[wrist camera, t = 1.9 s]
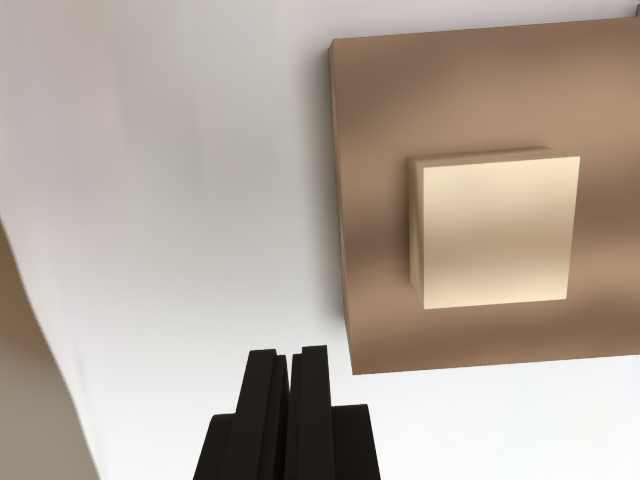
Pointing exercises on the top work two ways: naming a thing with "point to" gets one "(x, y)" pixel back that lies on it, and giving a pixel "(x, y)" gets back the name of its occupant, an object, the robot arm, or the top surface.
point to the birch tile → (491, 226)
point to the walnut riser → (480, 135)
